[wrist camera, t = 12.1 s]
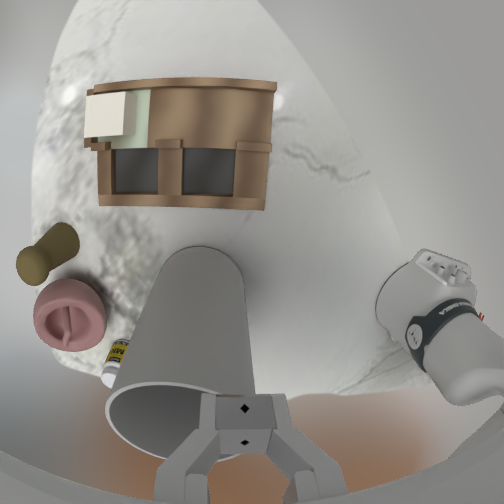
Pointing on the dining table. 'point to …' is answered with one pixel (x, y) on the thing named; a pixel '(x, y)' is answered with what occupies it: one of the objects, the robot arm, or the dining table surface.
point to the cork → (47, 254)
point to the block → (110, 114)
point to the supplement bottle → (113, 362)
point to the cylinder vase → (182, 352)
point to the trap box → (189, 144)
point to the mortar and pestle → (69, 316)
